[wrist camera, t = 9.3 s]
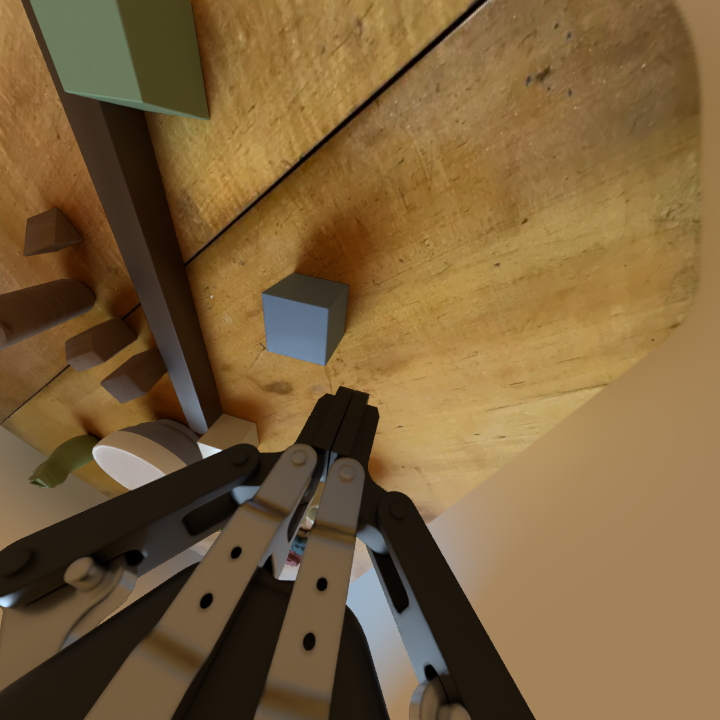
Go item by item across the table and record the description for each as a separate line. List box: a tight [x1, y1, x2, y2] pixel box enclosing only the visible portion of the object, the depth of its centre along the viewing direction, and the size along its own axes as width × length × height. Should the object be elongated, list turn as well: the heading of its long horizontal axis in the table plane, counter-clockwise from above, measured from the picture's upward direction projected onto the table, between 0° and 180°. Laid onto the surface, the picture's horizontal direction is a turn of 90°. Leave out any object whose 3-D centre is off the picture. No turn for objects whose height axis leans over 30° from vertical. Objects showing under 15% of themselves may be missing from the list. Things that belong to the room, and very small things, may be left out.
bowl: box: [92, 419, 203, 490], centre depth 40 cm, size 14×14×8 cm
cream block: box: [197, 414, 259, 459], centre depth 36 cm, size 5×5×5 cm
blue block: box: [262, 273, 349, 366], centre depth 21 cm, size 5×5×5 cm
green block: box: [30, 0, 209, 120], centre depth 14 cm, size 5×5×5 cm
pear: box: [29, 435, 100, 488], centre depth 49 cm, size 6×5×10 cm
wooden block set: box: [0, 207, 167, 403], centre depth 26 cm, size 18×9×10 cm, turn 19°
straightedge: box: [21, 0, 223, 434], centre depth 25 cm, size 3×38×3 cm, turn 172°
